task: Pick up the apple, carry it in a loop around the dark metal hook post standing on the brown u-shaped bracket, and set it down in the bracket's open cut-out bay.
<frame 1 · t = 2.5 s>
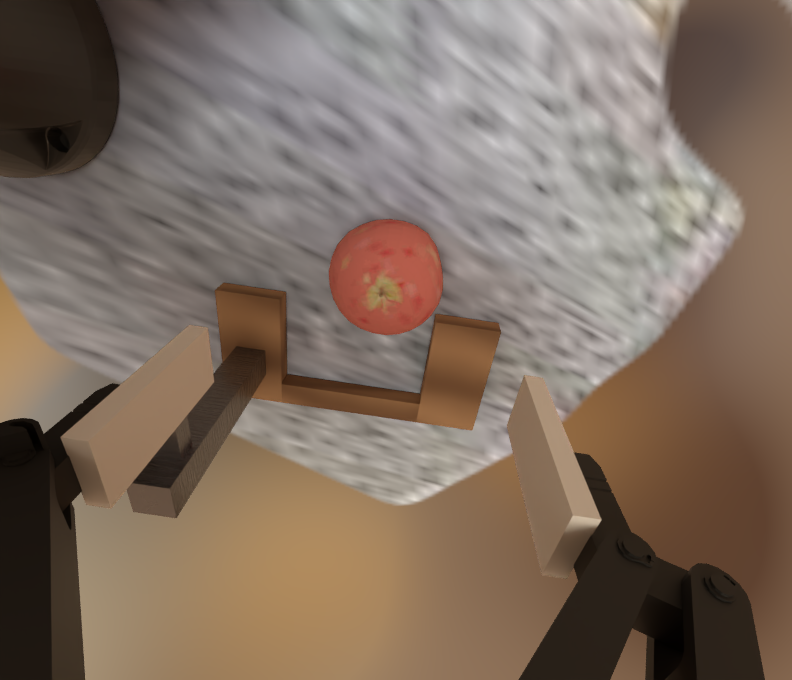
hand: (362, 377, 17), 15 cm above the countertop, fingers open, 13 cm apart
hook post: (258, 351, 35), resting on brown u-shaped bracket
apple: (391, 257, 30), on the countertop
brown u-shaped bracket: (356, 355, 35), on the countertop
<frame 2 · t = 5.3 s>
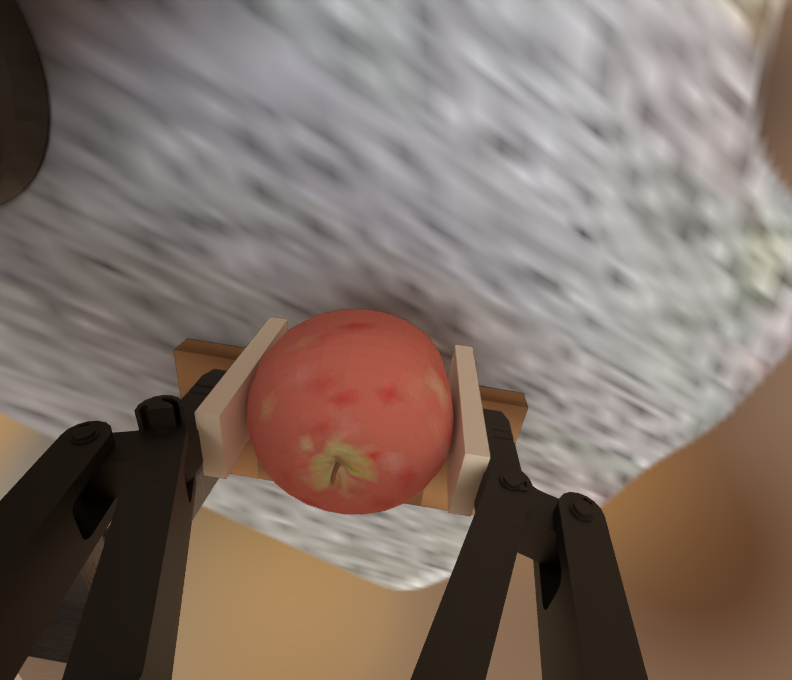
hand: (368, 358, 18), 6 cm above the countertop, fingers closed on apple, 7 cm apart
hook post: (230, 417, 29), resting on brown u-shaped bracket
apple: (369, 350, 19), point 6 cm above the countertop, touching gripper
brown u-shaped bracket: (347, 425, 28), on the countertop
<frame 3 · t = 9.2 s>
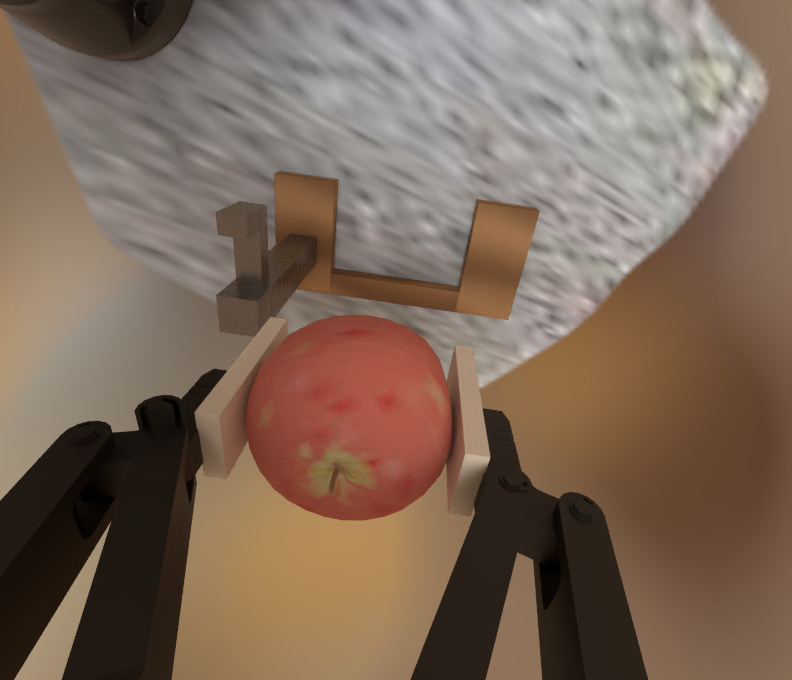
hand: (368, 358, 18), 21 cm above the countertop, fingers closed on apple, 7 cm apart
hook post: (308, 243, 38), resting on brown u-shaped bracket
apple: (368, 355, 19), point 20 cm above the countertop, touching gripper
brown u-shaped bracket: (400, 246, 37), on the countertop
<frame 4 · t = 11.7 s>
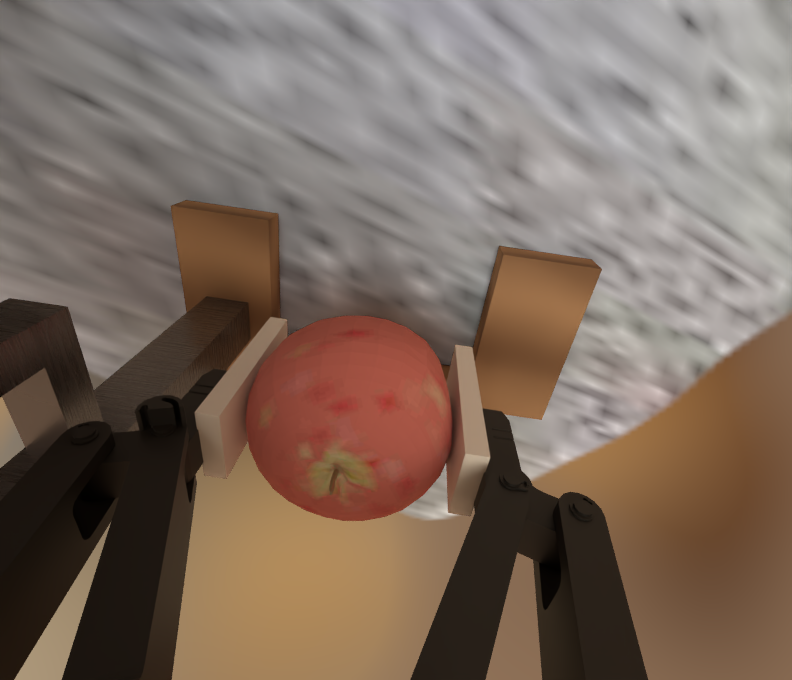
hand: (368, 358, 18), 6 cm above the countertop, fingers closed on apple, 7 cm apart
hook post: (239, 307, 25), resting on brown u-shaped bracket
apple: (368, 355, 19), point 6 cm above the countertop, touching gripper
brown u-shaped bracket: (379, 312, 24), on the countertop
when the fingers open (2 cm above the countertop, at t = 13.2 s): apple drops 1 cm, on the countertop.
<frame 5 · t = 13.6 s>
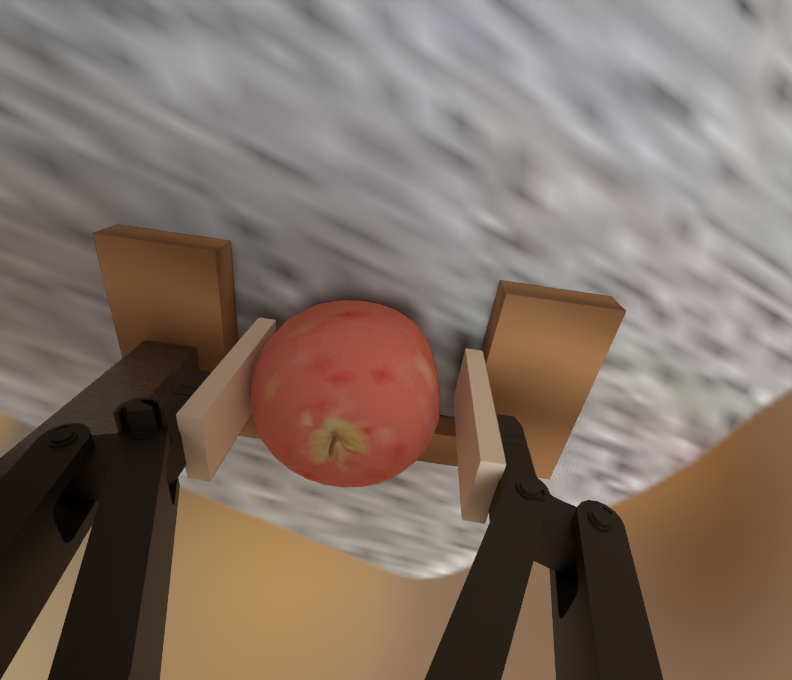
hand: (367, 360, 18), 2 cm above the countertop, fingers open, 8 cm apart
hook post: (190, 349, 21), resting on brown u-shaped bracket
apple: (362, 340, 20), on the countertop
brown u-shaped bracket: (356, 356, 20), on the countertop
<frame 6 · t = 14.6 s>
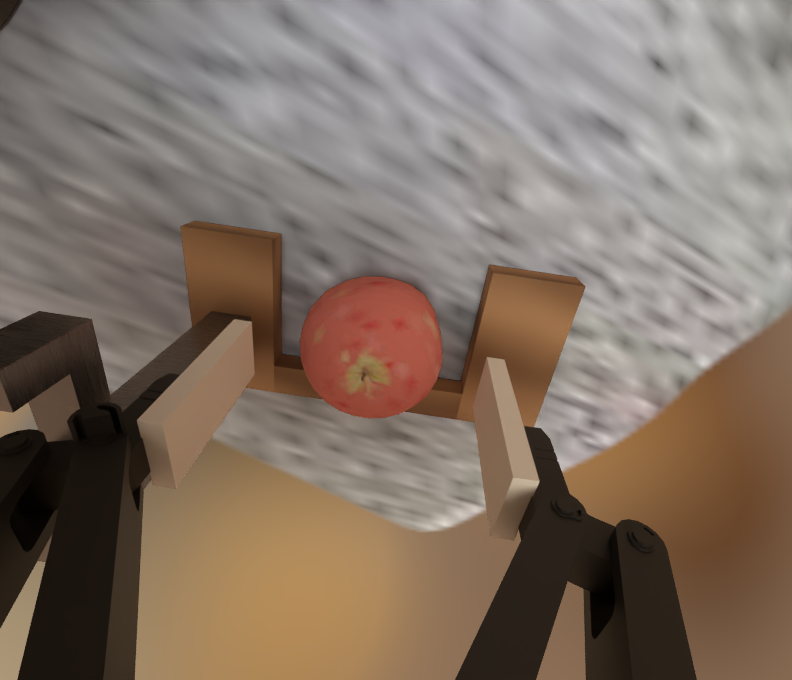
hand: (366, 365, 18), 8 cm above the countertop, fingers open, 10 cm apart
hook post: (242, 321, 26), resting on brown u-shaped bracket
apple: (380, 314, 25), on the countertop
brown u-shaped bracket: (375, 327, 25), on the countertop
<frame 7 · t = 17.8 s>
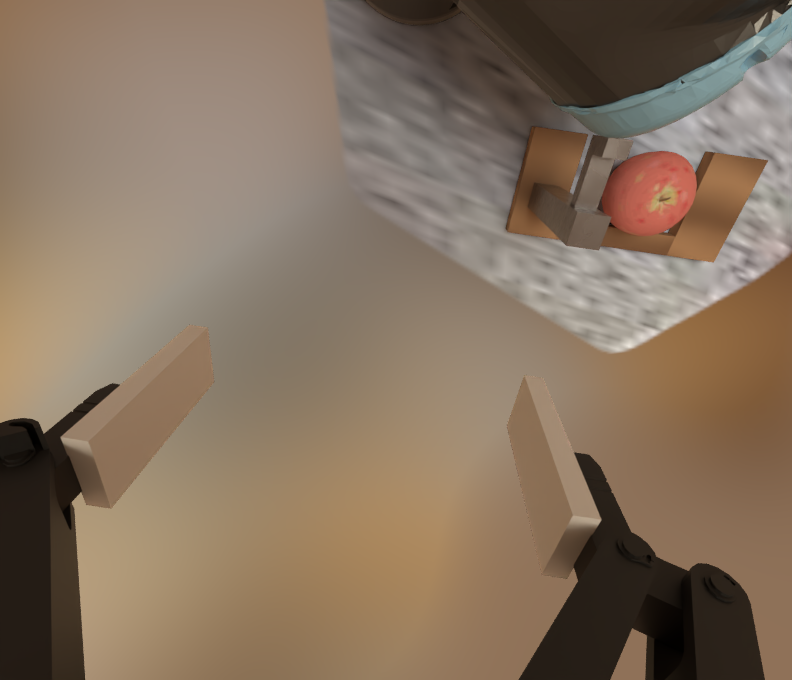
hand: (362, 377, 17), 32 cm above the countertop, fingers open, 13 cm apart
hook post: (539, 193, 42), resting on brown u-shaped bracket
apple: (627, 187, 42), on the countertop
brown u-shaped bracket: (623, 195, 42), on the countertop
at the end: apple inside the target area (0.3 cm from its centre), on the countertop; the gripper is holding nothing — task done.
